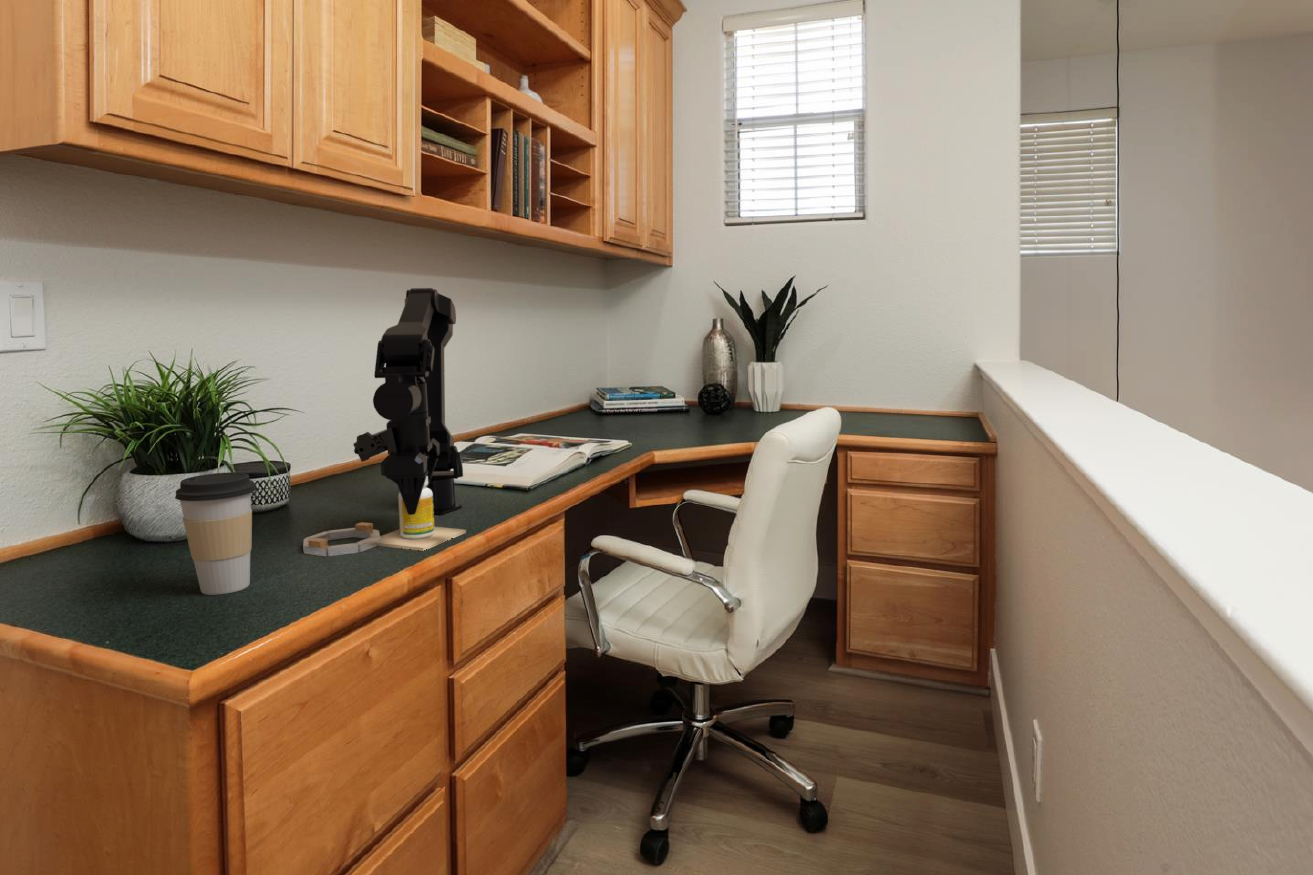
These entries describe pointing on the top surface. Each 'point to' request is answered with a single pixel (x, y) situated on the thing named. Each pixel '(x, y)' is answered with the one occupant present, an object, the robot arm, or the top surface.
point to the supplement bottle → (418, 516)
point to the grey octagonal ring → (319, 541)
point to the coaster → (421, 544)
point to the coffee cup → (219, 529)
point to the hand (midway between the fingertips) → (415, 508)
